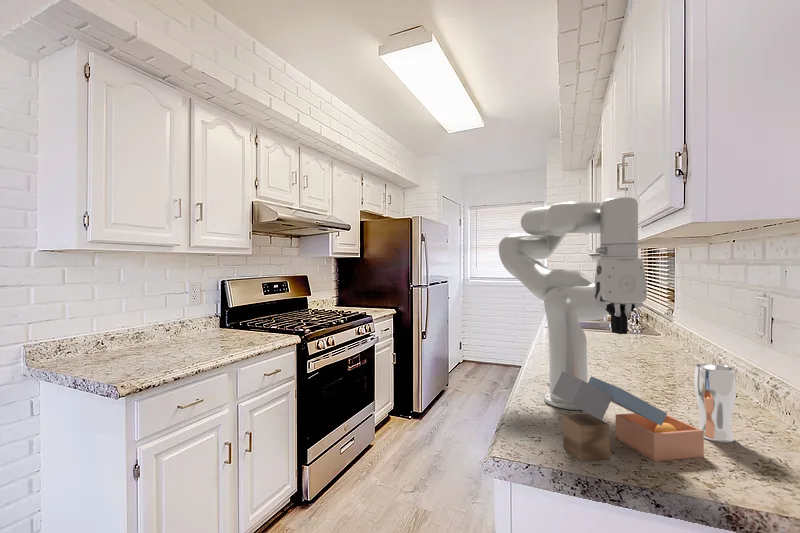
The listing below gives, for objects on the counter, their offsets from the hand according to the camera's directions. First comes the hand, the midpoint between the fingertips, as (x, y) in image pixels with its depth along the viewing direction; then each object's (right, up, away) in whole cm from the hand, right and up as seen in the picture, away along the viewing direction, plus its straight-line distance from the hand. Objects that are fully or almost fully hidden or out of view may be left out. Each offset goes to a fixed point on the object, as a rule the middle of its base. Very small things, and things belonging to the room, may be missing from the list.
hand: (619, 333), depth 90 cm
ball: (+4, -19, -9) cm, 22 cm away
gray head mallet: (-11, -15, -8) cm, 20 cm away
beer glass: (+18, -22, -5) cm, 28 cm away
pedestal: (-13, -22, -12) cm, 28 cm away
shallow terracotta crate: (+2, -22, -10) cm, 24 cm away
